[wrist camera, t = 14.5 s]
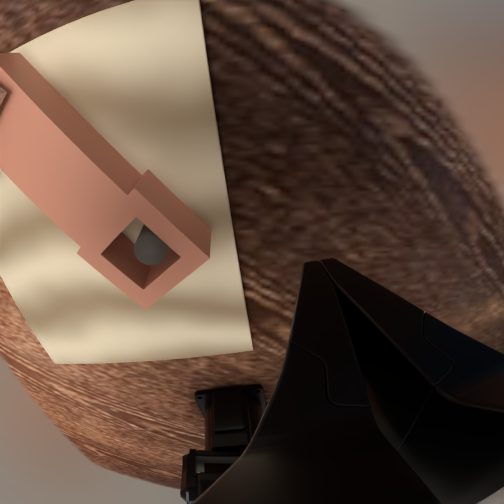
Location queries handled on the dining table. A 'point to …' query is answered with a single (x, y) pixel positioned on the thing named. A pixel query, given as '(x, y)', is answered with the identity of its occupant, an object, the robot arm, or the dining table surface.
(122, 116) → the board
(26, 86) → the link
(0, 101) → the block
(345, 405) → the robot arm
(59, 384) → the dining table surface
